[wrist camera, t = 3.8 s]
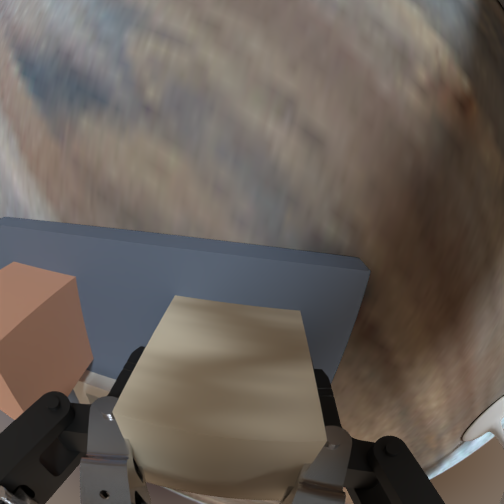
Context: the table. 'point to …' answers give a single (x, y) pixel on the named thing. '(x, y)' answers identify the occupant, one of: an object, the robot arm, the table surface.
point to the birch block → (223, 401)
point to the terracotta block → (39, 336)
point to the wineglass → (488, 425)
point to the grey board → (183, 286)
